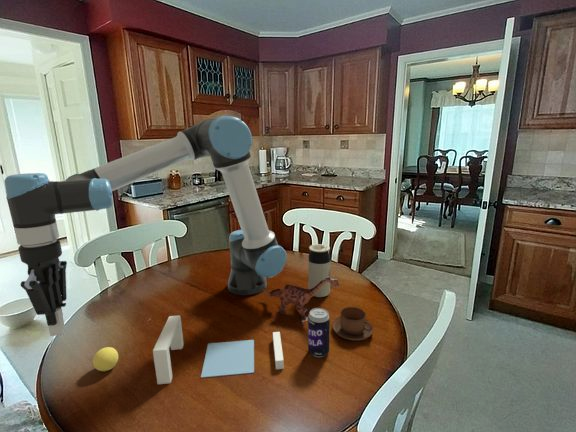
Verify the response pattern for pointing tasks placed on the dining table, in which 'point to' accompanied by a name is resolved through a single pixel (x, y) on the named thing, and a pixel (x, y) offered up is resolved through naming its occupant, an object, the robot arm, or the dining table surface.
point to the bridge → (167, 348)
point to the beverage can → (318, 332)
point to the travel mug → (319, 268)
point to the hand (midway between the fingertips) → (58, 333)
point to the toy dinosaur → (299, 295)
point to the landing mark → (229, 358)
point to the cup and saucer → (352, 324)
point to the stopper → (278, 351)
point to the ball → (105, 359)
